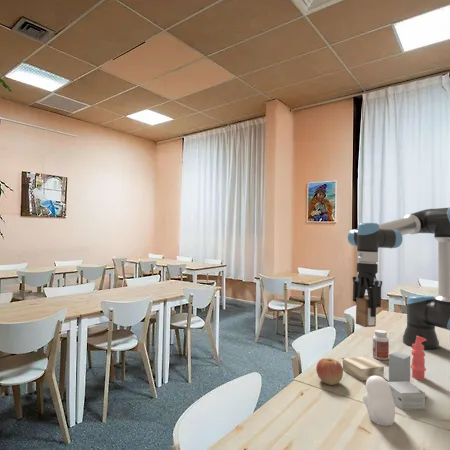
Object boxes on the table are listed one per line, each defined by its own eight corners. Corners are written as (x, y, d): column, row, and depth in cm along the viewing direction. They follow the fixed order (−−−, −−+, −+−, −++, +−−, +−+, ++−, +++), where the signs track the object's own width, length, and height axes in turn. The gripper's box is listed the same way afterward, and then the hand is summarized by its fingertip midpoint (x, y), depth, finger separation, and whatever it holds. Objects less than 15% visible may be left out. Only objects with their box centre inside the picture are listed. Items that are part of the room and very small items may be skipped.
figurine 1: (360, 413, 97) (361, 371, 97) (385, 412, 97) (386, 370, 97) (373, 427, 89) (374, 382, 90) (400, 426, 90) (401, 381, 90)
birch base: (363, 366, 131) (364, 356, 131) (383, 377, 122) (383, 366, 122) (342, 369, 128) (342, 358, 128) (361, 380, 118) (361, 369, 118)
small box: (385, 397, 107) (385, 381, 107) (408, 396, 108) (409, 380, 108) (400, 410, 99) (401, 392, 99) (425, 409, 100) (425, 392, 100)
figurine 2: (424, 375, 124) (425, 334, 124) (428, 381, 119) (428, 338, 120) (409, 373, 126) (409, 333, 126) (411, 378, 121) (412, 337, 121)
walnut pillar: (366, 323, 132) (366, 297, 133) (375, 326, 128) (376, 300, 128) (355, 323, 131) (356, 297, 131) (364, 327, 126) (365, 300, 126)
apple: (329, 390, 110) (329, 365, 111) (310, 379, 118) (311, 356, 118) (348, 385, 114) (348, 361, 115) (329, 375, 122) (329, 353, 122)
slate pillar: (395, 379, 120) (395, 351, 120) (410, 384, 116) (410, 355, 116) (388, 383, 117) (389, 354, 117) (403, 388, 113) (404, 358, 113)
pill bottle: (391, 358, 140) (391, 332, 141) (383, 361, 137) (383, 334, 137) (377, 354, 146) (378, 328, 146) (369, 356, 142) (369, 330, 143)
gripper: (343, 260, 137) (342, 317, 137) (376, 264, 120) (375, 330, 119) (359, 260, 140) (357, 317, 139) (393, 265, 123) (391, 329, 122)
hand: (365, 322), depth 129 cm, fingers closed on walnut pillar, 5 cm apart
